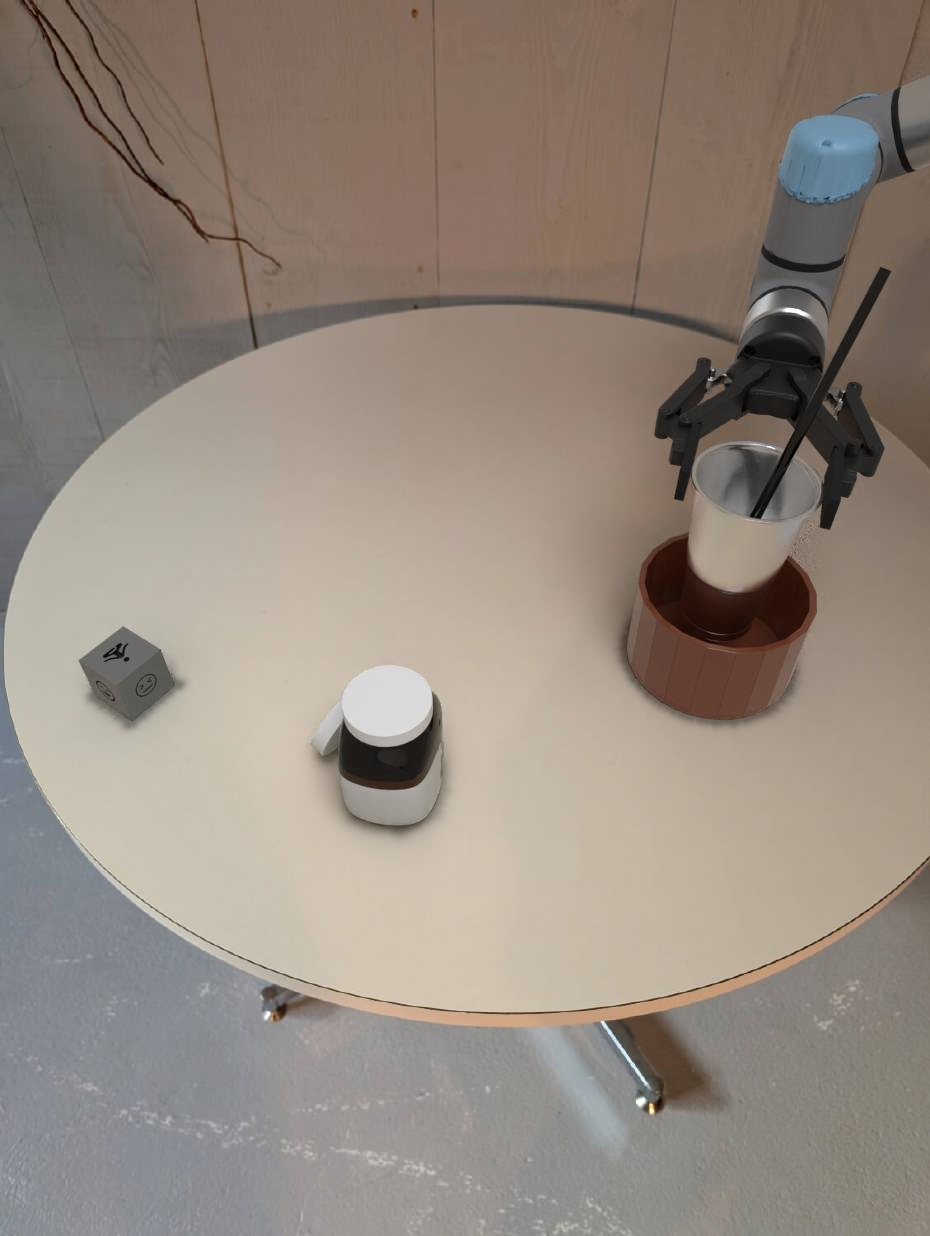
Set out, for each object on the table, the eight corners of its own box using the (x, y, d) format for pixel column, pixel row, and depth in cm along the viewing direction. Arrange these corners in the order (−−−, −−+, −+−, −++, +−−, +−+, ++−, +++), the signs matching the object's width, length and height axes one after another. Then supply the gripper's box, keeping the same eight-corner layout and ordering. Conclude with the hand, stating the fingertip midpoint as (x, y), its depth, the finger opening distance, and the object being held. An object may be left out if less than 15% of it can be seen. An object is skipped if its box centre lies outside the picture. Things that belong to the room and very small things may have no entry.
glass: (778, 575, 85) (892, 264, 63) (785, 666, 77) (917, 349, 55) (661, 560, 86) (732, 250, 64) (656, 648, 78) (736, 331, 56)
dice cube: (138, 662, 86) (123, 626, 82) (174, 685, 84) (160, 649, 80) (95, 696, 83) (78, 660, 79) (132, 721, 81) (116, 685, 77)
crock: (824, 689, 83) (854, 622, 76) (679, 740, 79) (698, 674, 73) (731, 582, 93) (751, 514, 86) (598, 623, 89) (608, 555, 82)
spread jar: (430, 845, 72) (424, 761, 64) (293, 825, 74) (269, 741, 65) (456, 725, 80) (453, 636, 72) (332, 709, 82) (315, 620, 73)
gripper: (899, 408, 82) (898, 569, 67) (649, 367, 87) (599, 509, 72) (929, 332, 76) (936, 489, 62) (661, 293, 81) (609, 430, 67)
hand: (754, 500), depth 67 cm, fingers closed on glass, 10 cm apart
